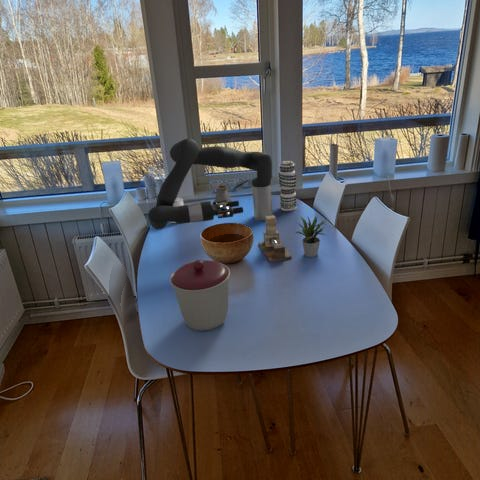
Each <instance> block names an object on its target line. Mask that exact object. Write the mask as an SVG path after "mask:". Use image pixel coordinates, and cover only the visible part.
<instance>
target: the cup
mask: <svg viewBox="0 0 480 480" xmlns="http://www.w3.org/2000/svg"><path fill="white" fill-rule="evenodd" d="M184 204H185V203H184V199H183V198H182V197H179V196H178V197H176V200H175V202H174V204H173V206H183V205H184ZM172 223H176V222H170V224H172Z"/></svg>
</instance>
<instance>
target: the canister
mask: <svg viewBox="0 0 480 480" xmlns="http://www.w3.org/2000/svg"><path fill="white" fill-rule="evenodd" d="M230 275H231V270H230V268H229V267H228V266H227V265H225V264H223V263H221V262H218V261H214V260H201V259H197V260H195V261H192V262H189V263H185V264H184V265H183V264H182V266H180V267H179V268H177V269H175V270H174V271H173V272H172V273H171V275H170V276H169V284H170V285H171V287H173V289H174V293H175V296H176V299H177V303H178V306H179V309H180V312H181V315H182V318H183V321H184V322H185V324H186V325H187V326H188V327H189V328H190V329H192V330H195V331H201V332H202V331H204V332H205V331H210V330H214V329H216V328H219V326H221V325H222V324H223V323H224V322H225V321H226V319H227V317H228V310H229V308H228V307H229V279H230Z"/></svg>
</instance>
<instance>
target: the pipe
mask: <svg viewBox="0 0 480 480" xmlns="http://www.w3.org/2000/svg"><path fill="white" fill-rule="evenodd" d="M270 241H271V242H272V244H273V245H274V246H277V245H279V243H278V242H277V241H276V240H275V238H274V237H272V238H270Z"/></svg>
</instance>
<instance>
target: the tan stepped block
mask: <svg viewBox="0 0 480 480" xmlns="http://www.w3.org/2000/svg"><path fill="white" fill-rule="evenodd" d="M265 219H266V220H265V229H266V230H265V232H263V240H264V239H265V246H266V247H272V246H274V245H273V244H272V242H271V241H270V238H272V237H274V238H275V240H276V241H277V242H278V243H279V241H280V232H279V231H278V230H277V219H276V216H275V215H274V214H272V216H265ZM279 245H280V244H279Z"/></svg>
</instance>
